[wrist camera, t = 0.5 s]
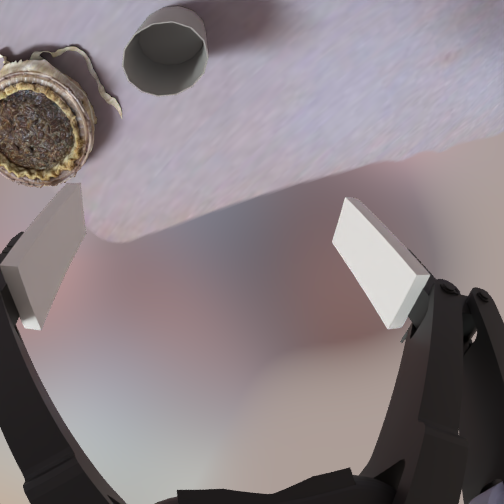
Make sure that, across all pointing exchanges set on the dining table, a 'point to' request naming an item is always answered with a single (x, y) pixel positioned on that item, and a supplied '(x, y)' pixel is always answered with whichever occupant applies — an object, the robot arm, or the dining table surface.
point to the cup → (167, 52)
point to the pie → (44, 121)
